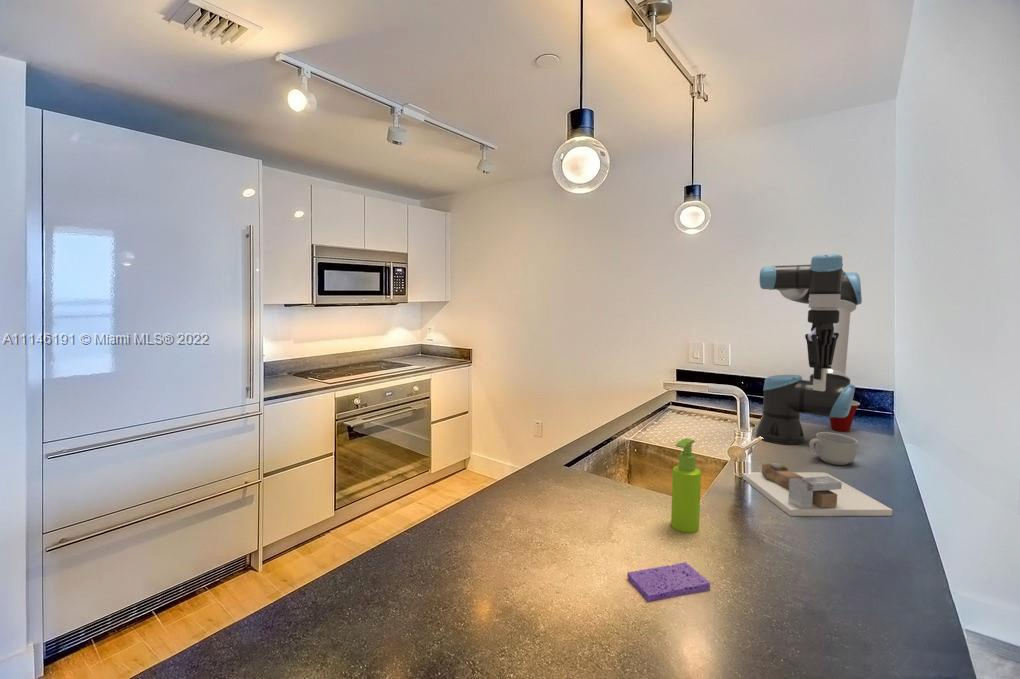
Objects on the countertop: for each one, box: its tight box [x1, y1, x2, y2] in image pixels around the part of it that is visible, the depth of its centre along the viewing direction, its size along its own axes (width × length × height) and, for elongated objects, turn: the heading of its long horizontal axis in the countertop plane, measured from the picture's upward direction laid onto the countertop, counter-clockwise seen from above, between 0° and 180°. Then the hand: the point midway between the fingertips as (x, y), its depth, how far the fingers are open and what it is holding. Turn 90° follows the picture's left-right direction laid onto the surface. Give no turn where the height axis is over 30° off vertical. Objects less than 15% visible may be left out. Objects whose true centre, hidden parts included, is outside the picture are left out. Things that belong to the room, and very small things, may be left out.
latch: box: [761, 462, 837, 508], centre depth 121 cm, size 21×6×4 cm, turn 8°
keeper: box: [788, 476, 843, 509], centre depth 113 cm, size 4×10×7 cm, turn 98°
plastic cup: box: [829, 400, 861, 433], centre depth 181 cm, size 11×11×12 cm
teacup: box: [808, 431, 859, 466], centre depth 146 cm, size 14×11×8 cm
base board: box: [742, 471, 893, 517], centre depth 122 cm, size 24×24×2 cm
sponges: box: [626, 561, 711, 603], centre depth 84 cm, size 7×13×2 cm, turn 105°
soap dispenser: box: [670, 437, 702, 534], centre depth 104 cm, size 6×7×20 cm
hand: (819, 390), depth 136 cm, fingers closed
